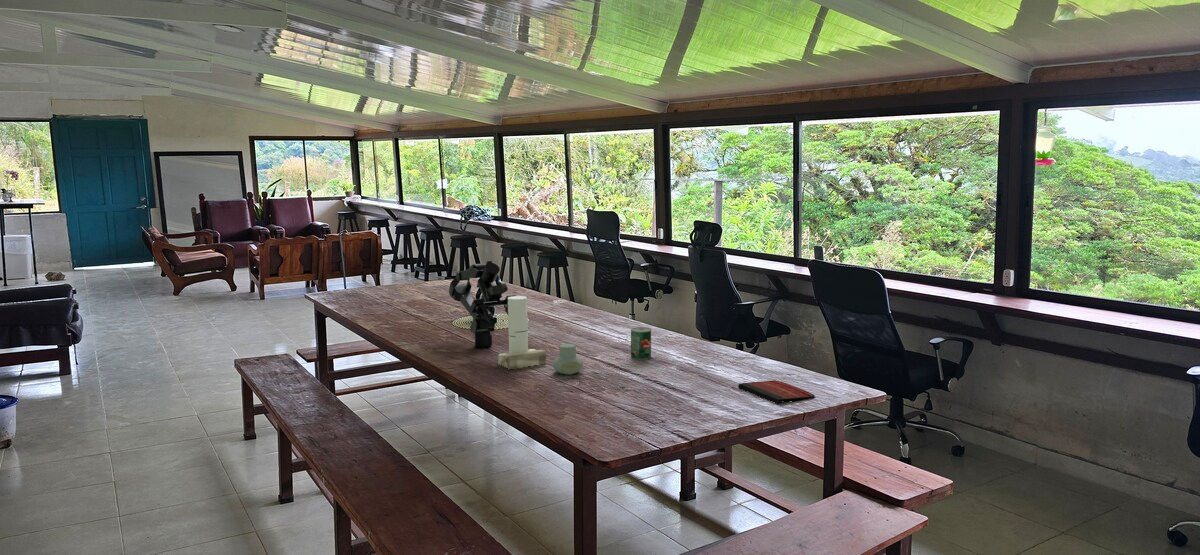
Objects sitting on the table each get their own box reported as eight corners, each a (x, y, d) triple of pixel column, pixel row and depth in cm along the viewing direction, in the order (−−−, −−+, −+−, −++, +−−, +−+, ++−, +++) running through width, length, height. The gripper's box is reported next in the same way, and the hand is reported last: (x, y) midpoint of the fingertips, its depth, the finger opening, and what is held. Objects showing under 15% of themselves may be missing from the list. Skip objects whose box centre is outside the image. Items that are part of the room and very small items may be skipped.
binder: (778, 398, 256) (737, 383, 274) (778, 406, 256) (737, 389, 274) (818, 393, 263) (776, 378, 281) (817, 400, 263) (775, 385, 282)
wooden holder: (498, 364, 308) (498, 351, 307) (533, 358, 316) (533, 346, 315) (510, 369, 300) (509, 356, 299) (545, 364, 308) (545, 351, 307)
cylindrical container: (527, 365, 307) (525, 299, 303) (508, 365, 307) (506, 299, 303) (529, 360, 314) (527, 295, 310) (510, 360, 314) (509, 296, 310)
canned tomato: (649, 360, 312) (649, 331, 311) (629, 359, 314) (629, 331, 312) (652, 355, 320) (652, 327, 319) (632, 354, 322) (632, 327, 320)
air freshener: (555, 376, 290) (555, 349, 289) (550, 371, 298) (550, 344, 297) (585, 374, 293) (585, 347, 292) (579, 368, 301) (579, 342, 300)
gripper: (472, 279, 317) (485, 311, 310) (515, 275, 327) (529, 306, 320) (464, 296, 325) (477, 328, 317) (506, 292, 335) (520, 322, 328)
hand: (501, 321), depth 320 cm, fingers open, 9 cm apart
